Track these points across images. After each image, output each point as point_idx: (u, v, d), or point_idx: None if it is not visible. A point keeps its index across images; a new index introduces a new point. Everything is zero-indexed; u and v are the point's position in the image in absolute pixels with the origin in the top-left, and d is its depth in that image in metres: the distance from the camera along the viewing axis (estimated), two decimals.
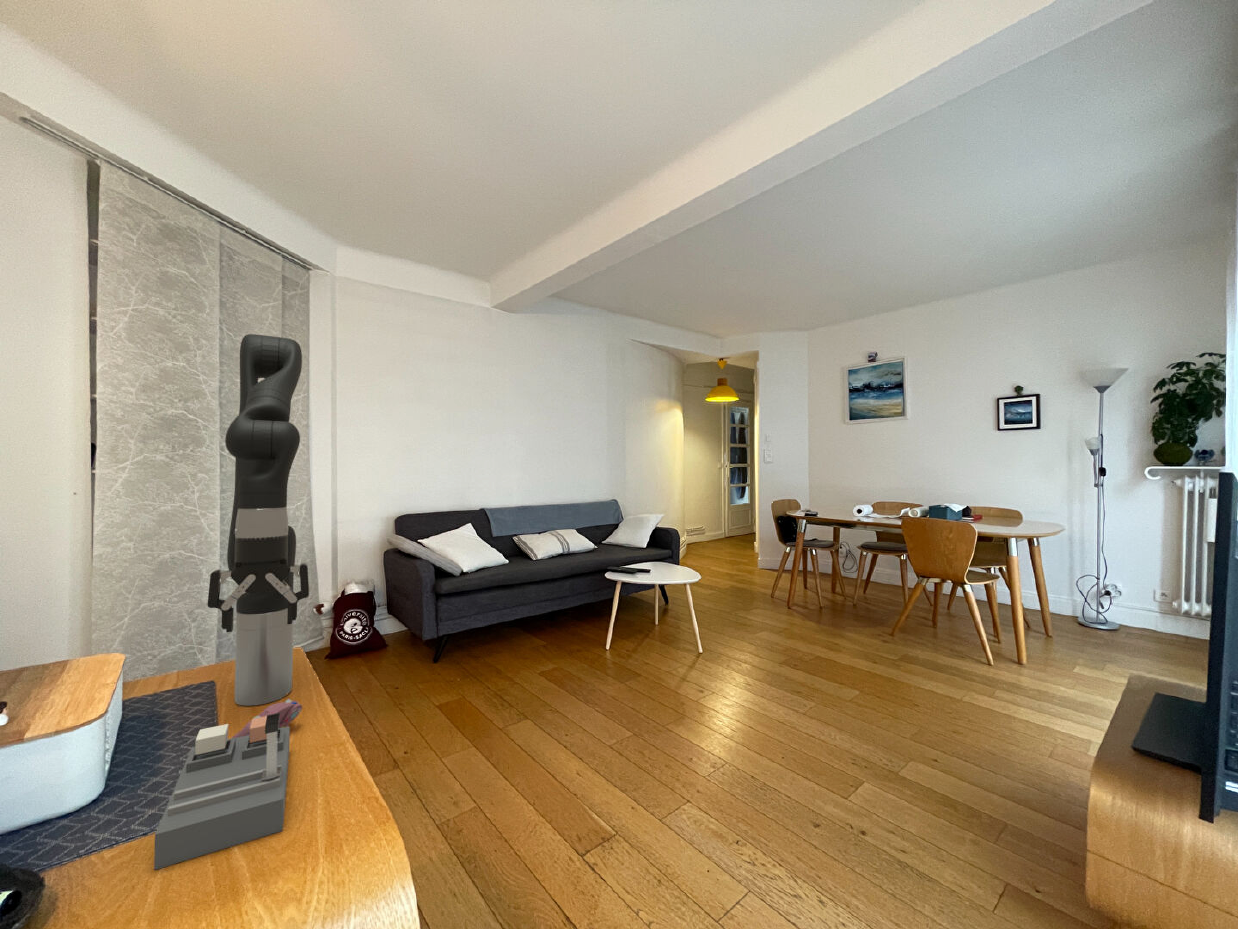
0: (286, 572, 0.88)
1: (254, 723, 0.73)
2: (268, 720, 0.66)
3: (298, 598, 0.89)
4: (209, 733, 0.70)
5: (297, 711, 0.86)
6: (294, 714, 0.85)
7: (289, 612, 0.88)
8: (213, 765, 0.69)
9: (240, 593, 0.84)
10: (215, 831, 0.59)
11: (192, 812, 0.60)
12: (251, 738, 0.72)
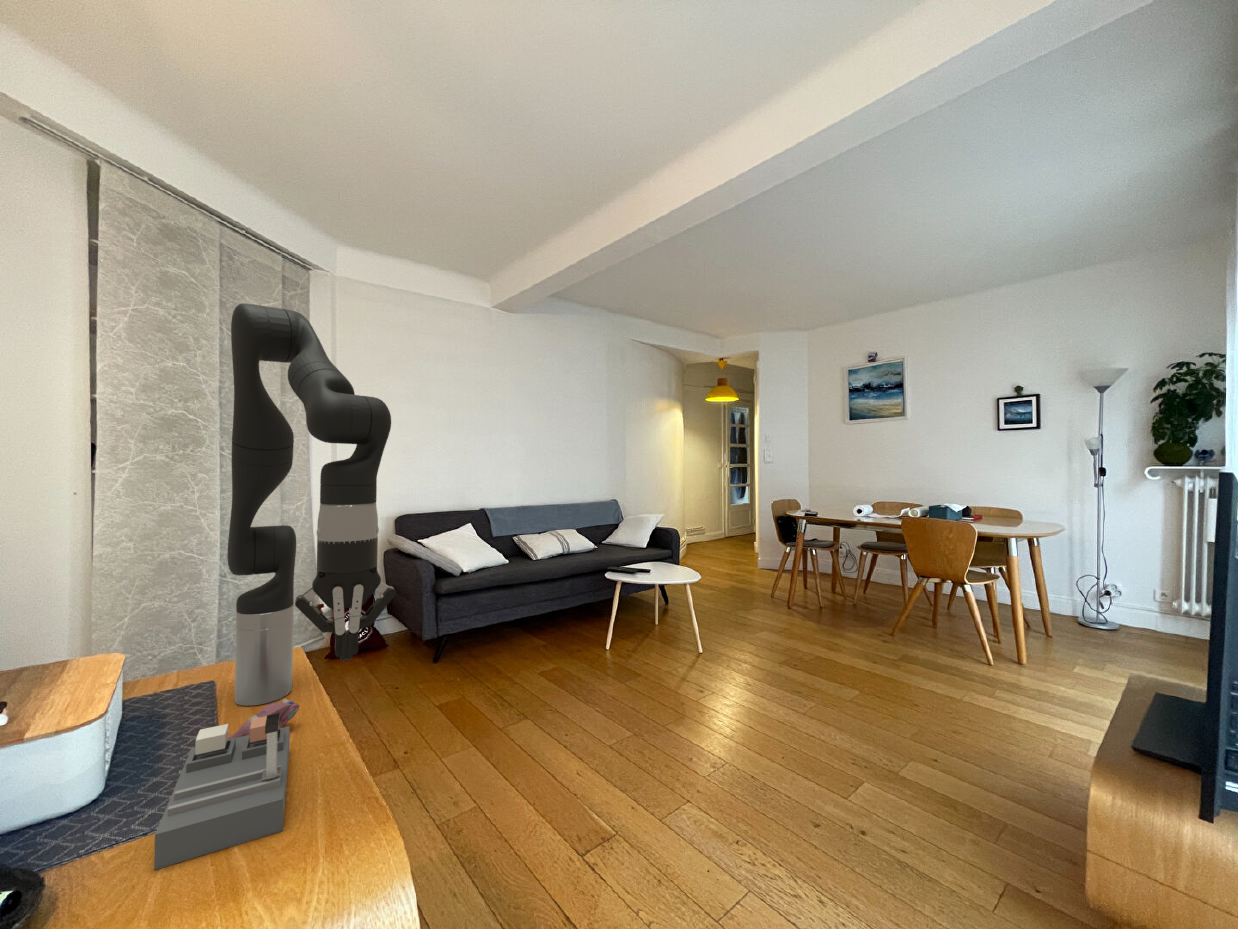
0: (374, 585, 0.71)
1: (254, 723, 0.73)
2: (268, 720, 0.66)
3: (360, 626, 0.71)
4: (209, 733, 0.70)
5: (294, 711, 0.86)
6: (291, 714, 0.85)
7: (349, 645, 0.70)
8: (213, 765, 0.69)
9: (341, 610, 0.69)
10: (215, 831, 0.59)
11: (192, 812, 0.60)
12: (251, 738, 0.72)
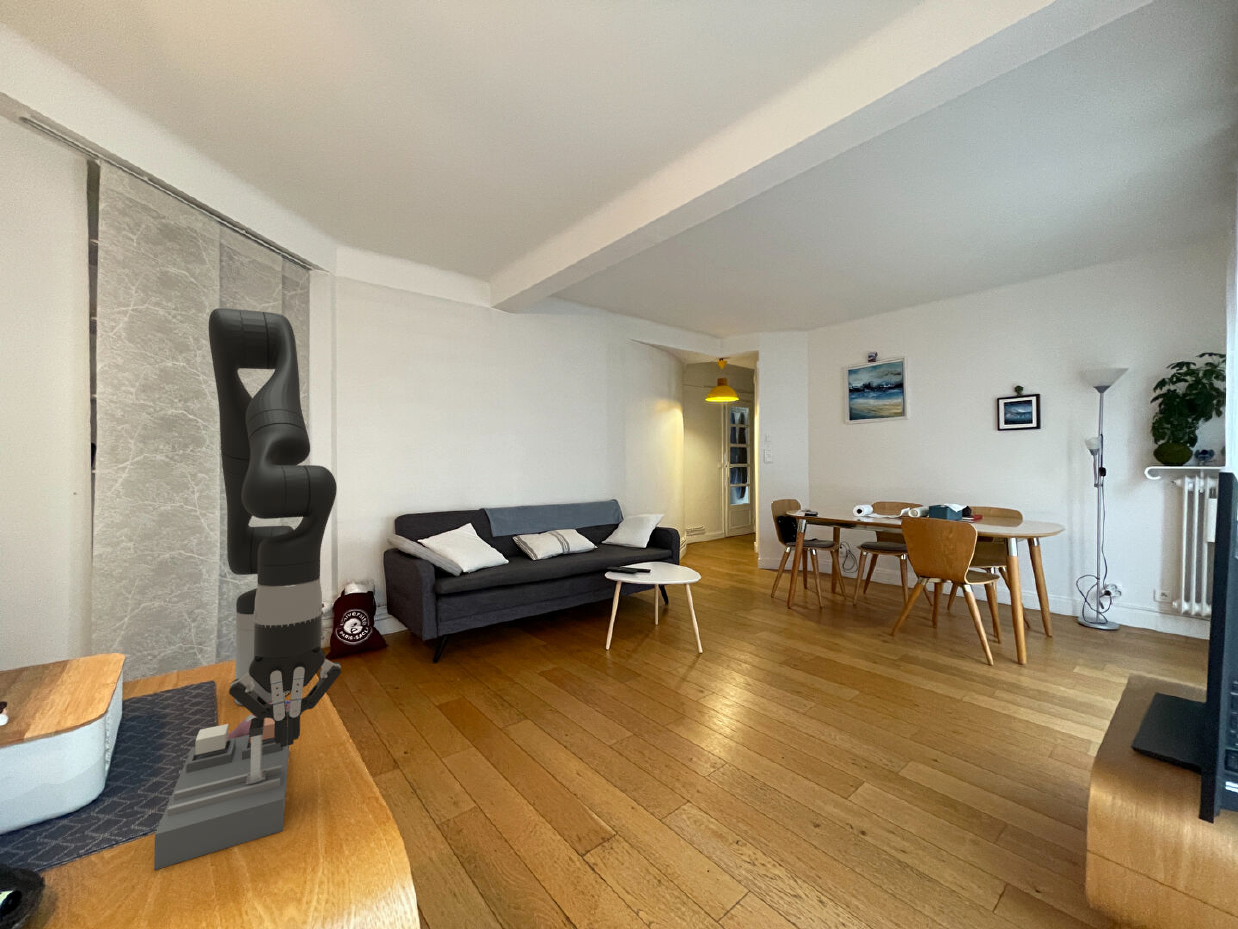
0: (317, 665, 0.68)
1: None
2: (253, 723, 0.65)
3: (302, 709, 0.67)
4: (209, 733, 0.70)
5: None
6: None
7: (289, 730, 0.66)
8: (213, 765, 0.69)
9: (280, 695, 0.65)
10: (215, 831, 0.59)
11: (192, 812, 0.60)
12: None
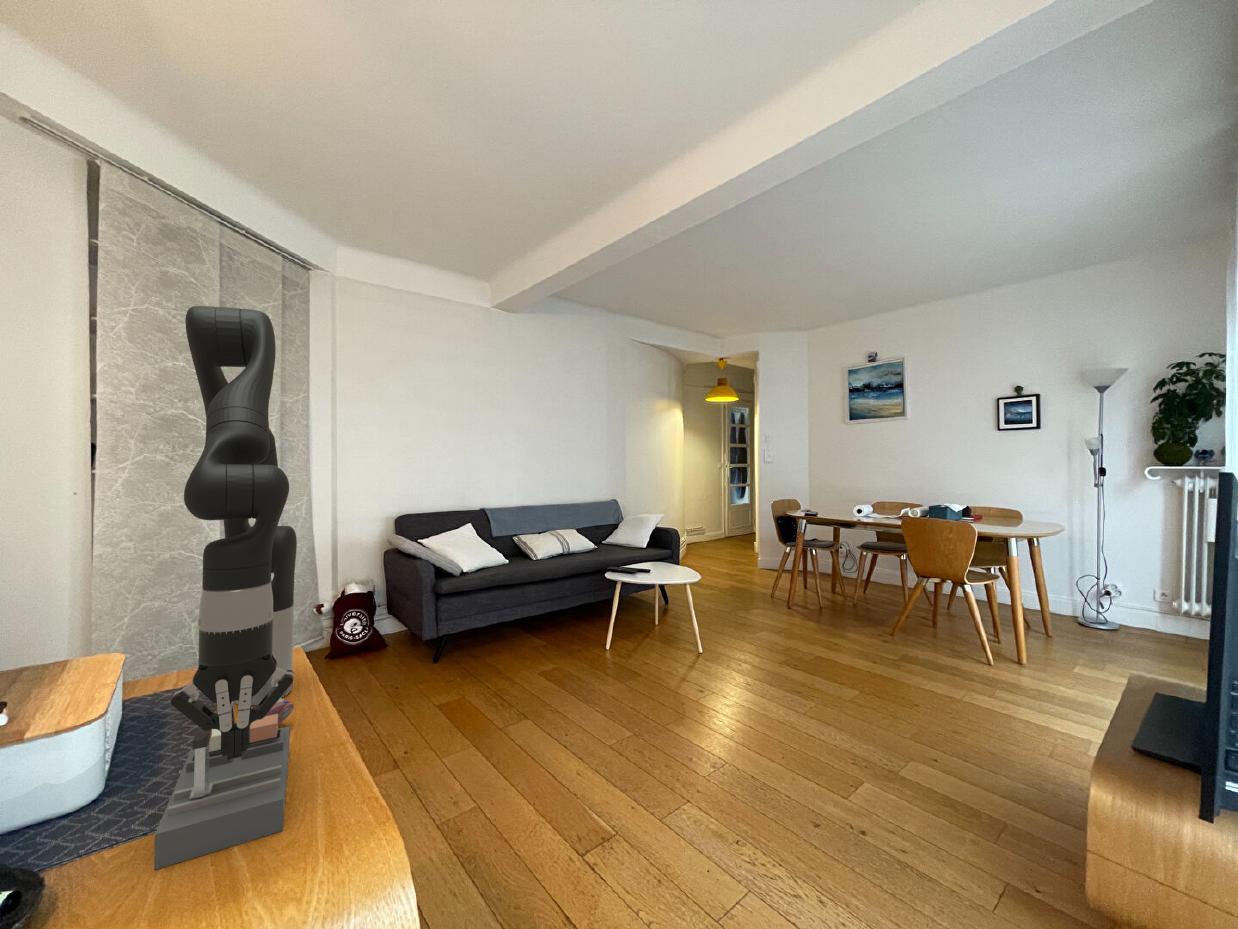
0: (267, 674, 0.65)
1: (254, 723, 0.73)
2: (198, 734, 0.62)
3: (250, 720, 0.64)
4: None
5: (289, 710, 0.86)
6: (286, 713, 0.86)
7: (237, 742, 0.63)
8: (213, 765, 0.69)
9: (227, 705, 0.62)
10: (215, 831, 0.59)
11: (192, 812, 0.60)
12: (251, 738, 0.72)
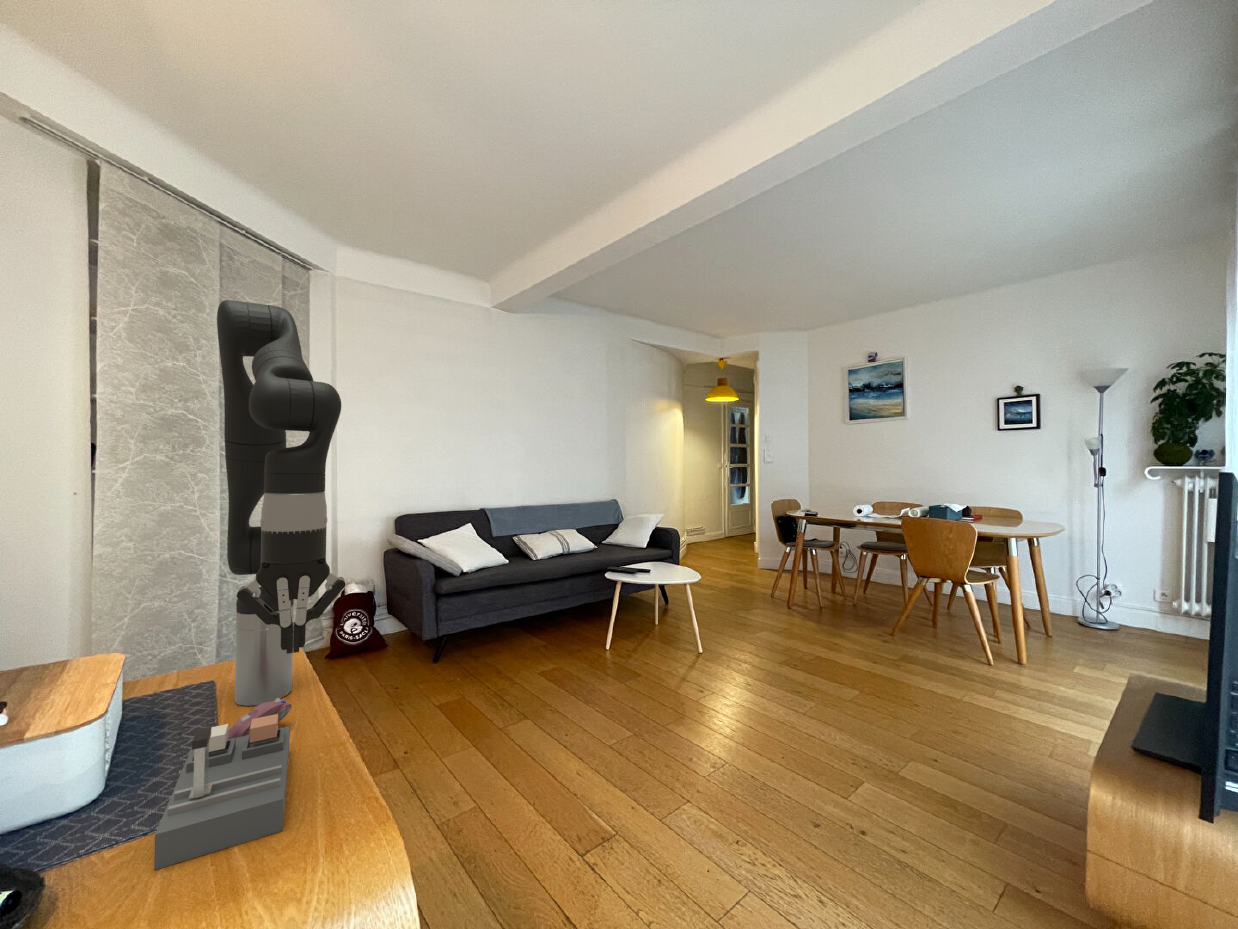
0: (322, 577, 0.69)
1: (254, 723, 0.73)
2: (197, 735, 0.62)
3: (307, 619, 0.69)
4: None
5: (286, 710, 0.86)
6: (283, 713, 0.86)
7: (295, 637, 0.68)
8: (213, 765, 0.69)
9: (286, 602, 0.67)
10: (215, 831, 0.59)
11: (192, 812, 0.60)
12: (251, 738, 0.72)
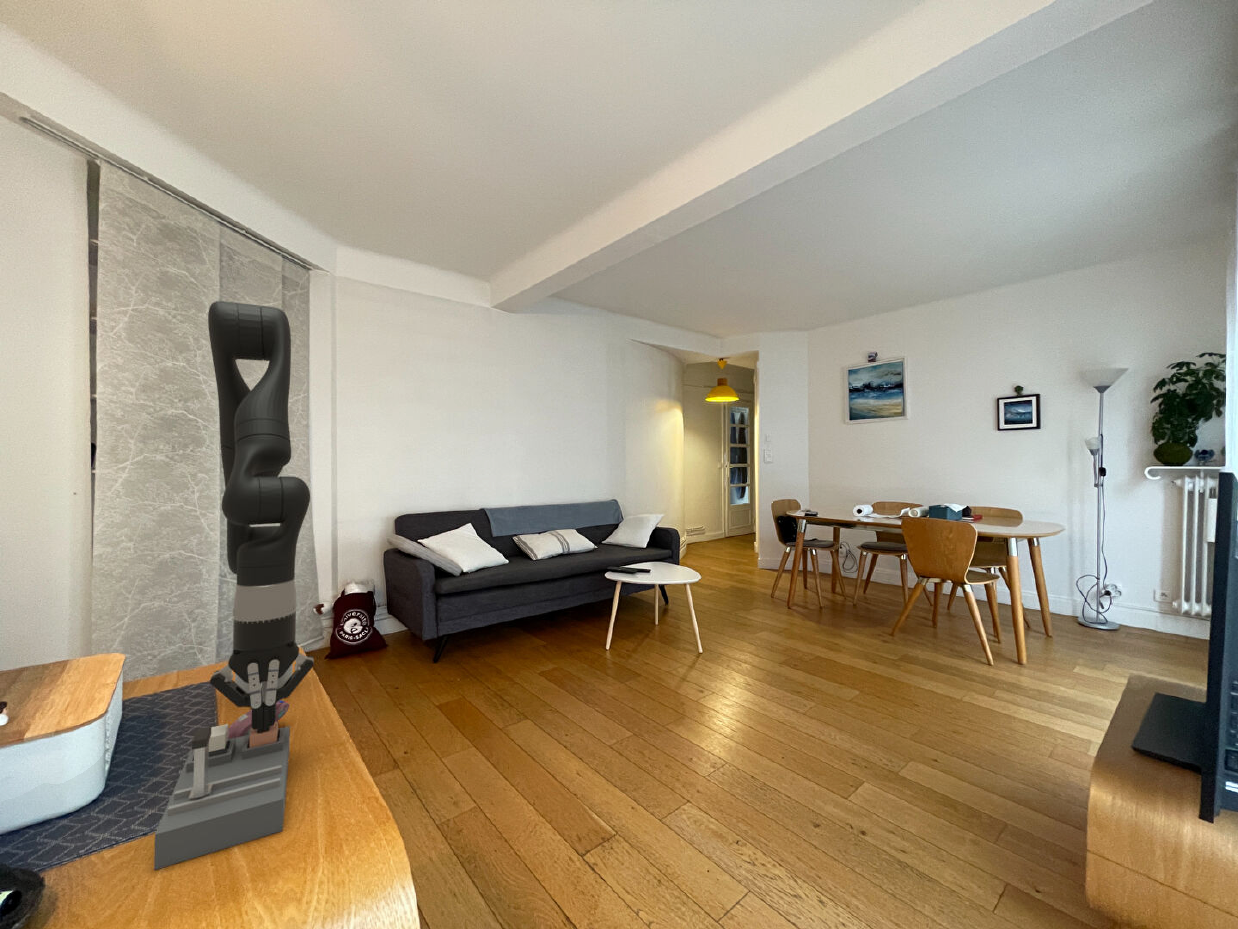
0: (291, 659, 0.74)
1: (254, 731, 0.73)
2: (197, 735, 0.62)
3: (277, 699, 0.74)
4: None
5: (284, 710, 0.86)
6: (281, 713, 0.86)
7: (265, 717, 0.73)
8: (213, 765, 0.69)
9: (257, 685, 0.72)
10: (215, 831, 0.59)
11: (192, 812, 0.60)
12: (251, 746, 0.72)
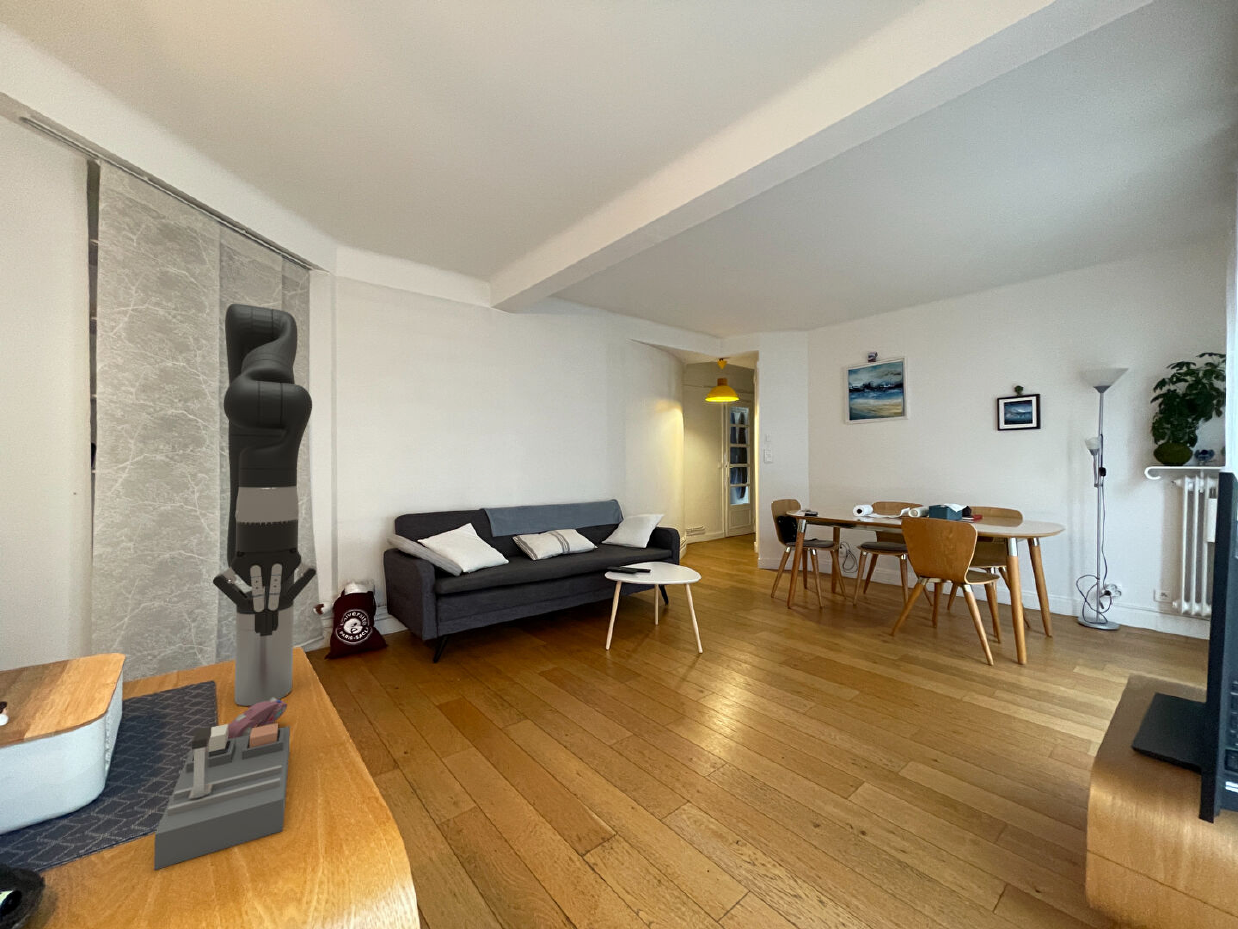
0: (293, 565, 0.74)
1: (254, 732, 0.73)
2: (197, 735, 0.62)
3: (280, 604, 0.74)
4: None
5: (282, 710, 0.86)
6: (279, 713, 0.86)
7: (268, 621, 0.73)
8: (213, 765, 0.69)
9: (260, 588, 0.72)
10: (215, 831, 0.59)
11: (192, 812, 0.60)
12: None
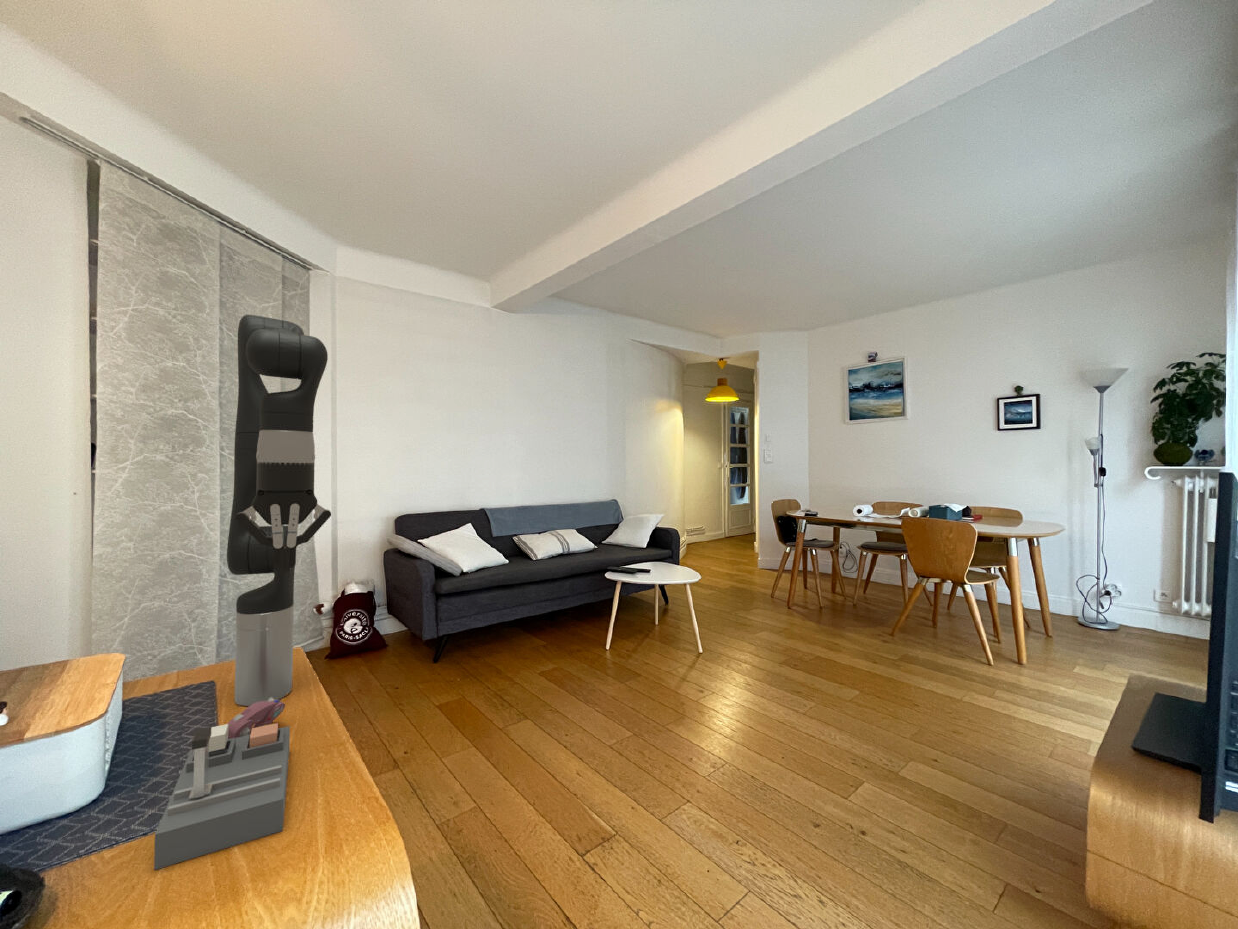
0: (310, 506, 0.79)
1: (254, 732, 0.73)
2: (197, 735, 0.62)
3: (297, 543, 0.78)
4: None
5: (280, 709, 0.86)
6: (276, 712, 0.86)
7: (287, 558, 0.77)
8: (213, 765, 0.69)
9: (279, 526, 0.76)
10: (215, 831, 0.59)
11: (192, 812, 0.60)
12: None
